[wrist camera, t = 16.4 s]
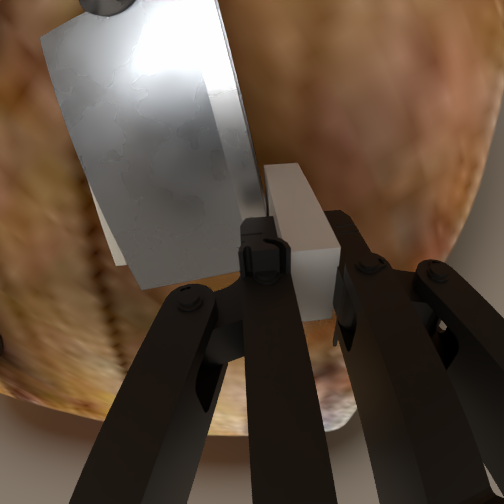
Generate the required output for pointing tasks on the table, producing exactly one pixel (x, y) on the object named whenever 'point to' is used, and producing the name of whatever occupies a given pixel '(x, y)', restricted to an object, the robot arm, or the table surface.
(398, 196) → the table surface
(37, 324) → the table surface
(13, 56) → the table surface
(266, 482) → the robot arm
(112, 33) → the cover
